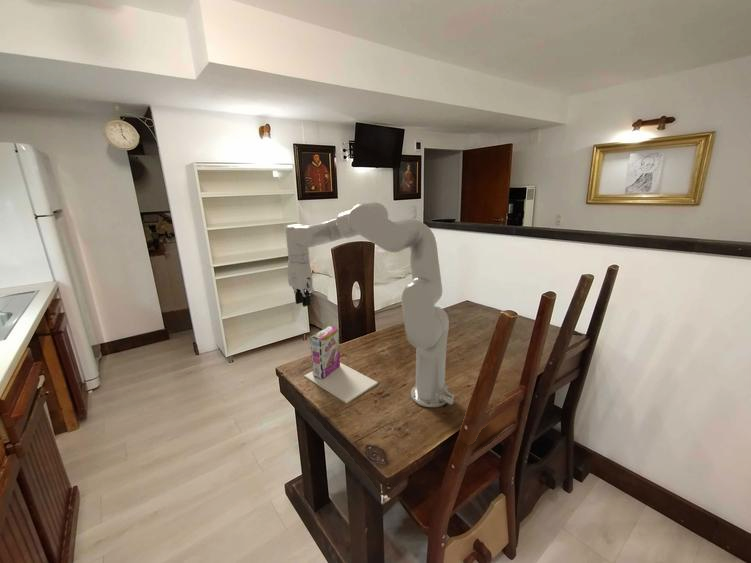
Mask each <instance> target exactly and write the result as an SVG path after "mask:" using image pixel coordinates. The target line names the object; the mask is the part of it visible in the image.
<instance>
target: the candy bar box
mask: <svg viewBox="0 0 751 563" xmlns="http://www.w3.org/2000/svg"><path fill="white" fill-rule="evenodd" d="M339 332H340V330H339V328H338V327H334V326H330V325H328V326H327V327H325V328H324V329H322V330H320V331H318V332H316V333H315V334H312V335H311V336H310V338H309V339H310V351H311V365H312V371H313V376H315V377H317V378H320V379H324V378H325V377H326V376H327V375H329V374H330V373H331V372H333V371H334V370H335V369H336V368H338V367H339V366H340V363H341V361H340V360H341V358H340V338H339V337H340V334H339Z"/></svg>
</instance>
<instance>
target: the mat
mask: <svg viewBox="0 0 751 563" xmlns="http://www.w3.org/2000/svg"><path fill="white" fill-rule="evenodd" d="M303 377H304V378H306V379H308V380H309V381H310V382H312V383H314V384H316V386H319V387H320V388H322V389H323V390H324V391H326V392H328V393H329V394H331V395H332V396H334V398H335V397H336V398H337V399H339V400H340V401H341V402H343V403H345V404H349V403H350V402H352V401H354V400H355V399H356V398H359V397H360V396H361V395H362V394H364V393H366V392H368V391H369V390H370V389H373V387H375V386H377V385H378V383H379V382H378V381H376V380H374V379H372V378H370V377H369V376H367V375H364V374H363V373H361V372H359V371H357V370H355V369H353V368H352V367H350V366H347V365H346V364H343V363H341V362H340V366H339V367H338V368H336V369H335V370H334V371H333V372H331V373H330V374H329V375H327V376H326V377H325V378H324V379H320V378H317V377H315V376H313V370H312V371H310V372H308V373H305V374H304V375H303Z"/></svg>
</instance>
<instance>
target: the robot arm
mask: <svg viewBox="0 0 751 563" xmlns="http://www.w3.org/2000/svg"><path fill="white" fill-rule="evenodd" d="M433 232H434V231H432V229H431V228H430V227H429V226H427V224H425V223H424V222H422V221H420V220H417V219H411V218H404V219H401V220H397V221H392V220H390V219H389V212H388V210H387V208H386V206H385V205H383V204H382V203H379V202H367V203H366V202H365V203H360V204H357V205H355V206H353V208H352V209H349V210H346V211H344V212H343V211H342V212H341V213H339V214H338V215H337V216H336V218H335V219H331V220H329V221H325V222H321V223H314V224H309V225H305V224H300V223H298V224H297V223H296V224H289V225H287V226H286V227H285V235H286V236H285V237H286V247H287V248H286V249H287V257H288V263H287V278H288V279H287V280H288V285H289V287H291V288H292V289H293V293H294V298H295V304H296V305H298V304H301V305H302V307H303V308H304V307H308V306H310V305H311V293H312V292H313V291H314V287H313V284H314V283H313V274H312V268H311V264H310V252H309V250H310V249H309V248H313V247H318V246H321V245H325V244H328V243H331V242H332V243H333V242H335V241H338V240H342V239H351V238H354V237H356V236H361V237H363V238H364V239H366V240H367V241H369V242H371V243H372V244H374V245H375V246H377V247H379V248H380V249H382V250H383V251H386V252H390V253H400V252H402V251H404V250H406V249H408V248H409V249H410V260H409V261H410V270H411V282H409V283H408V284H407V285H406V286H405V287H404V289H403V291H402V293H401V294H402V295H401V309H402V315H403V316H402V318H403V322H404V323H403V324H404V331H405V335H406V338H407V340H408V342H409V344H410V345H411V346H413V347H414V348H415V349H416V350H415V351H416V352H415V385H414V386H413V387H412V388H411V389H410V396H411V399H412V400H413V401H414V402H415V403H416V404H417V405H419V406H422V407H426V408H439V407H442V406H444V405H445V404H448V405H450V406H452V405H453V403H455V402H454V401H455V399H454V397H455V394H453V393H451V392H449V391H448V385H446V383H445V382H446V380H445V379H446V361H447V360H446V356H447V343H448V335H449V328H450V319H449V316H448V314H447V313H446V311H445V310H444V309H443V308H442V307H440V306H436V304H437V303H438V302H439V300H441V298H442V296H443V285H442V278H441V277H442V275H441V269H440V262H439V260H440V259H439V253H438V252H439V251H438V245H437V241H436V237H435V234H434V233H433Z"/></svg>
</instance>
